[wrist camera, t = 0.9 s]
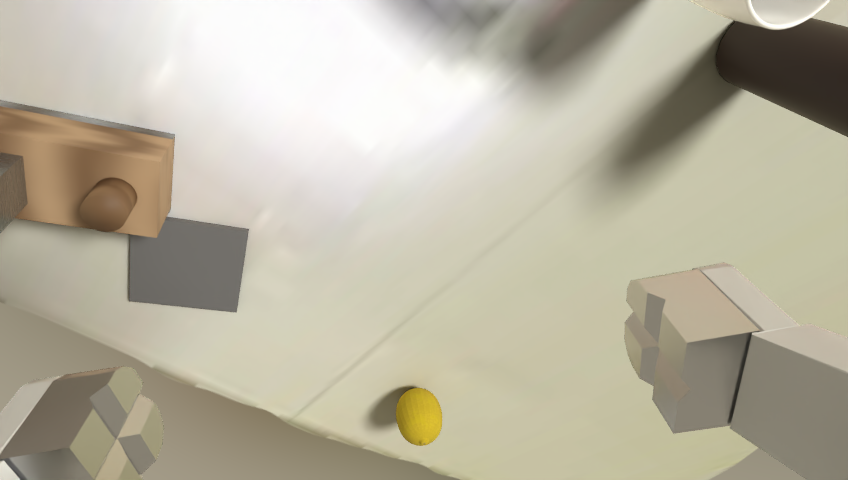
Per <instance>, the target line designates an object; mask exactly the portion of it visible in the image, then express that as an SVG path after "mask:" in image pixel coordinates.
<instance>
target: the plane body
mask: <svg viewBox="0 0 848 480" xmlns="http://www.w3.org/2000/svg"><path fill="white" fill-rule="evenodd" d="M174 140H175V134H170V133H165V132H160V131H155V130H149V129H144V128H139V127H134V126H129V125H124V124H119V123H114V122H109V121H103V120H98V119H93V118H88V117H83V116H78V115H73V114H68V113H63V112H58V111H52V110H47V109H42V108H37V107H32V106H27V105H22V104H17V103H12V102H7V101H1V100H0V152H2V153H8V154H14V155H19V156H23V162H24V171H25V181H26V191H27V201H28V204H27V205H26V206H25V207H24V208H23V209H22V210H21V211H20V212H19V214H18V215H17V216H16V217H15V218H18V219H25V220H32V221H39V222H46V223H54V224H61V225H68V226H75V227H82V228H89V229H96V230H99V231H103V232H118V233H125V234H132V235H139V236H147V237H154V238H157V236H158V234H159V232H160V230H161V228H162V225H163V223H164V221H165V219H166V217H167V215H168V213H169V212H170V210H171V192H172V175H173V157H174Z"/></svg>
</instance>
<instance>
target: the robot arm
mask: <svg viewBox="0 0 848 480" xmlns="http://www.w3.org/2000/svg"><path fill="white" fill-rule="evenodd" d="M626 301H627V303H628V304H629V306H630V307H631V309H632V310H633V311H634V312H633V313H632V314H631V315H630V317H629V318H628V319H627V320H626V322H625V335H624V339H625V344H626V349H627V354H628V356H629V359H630V361H631V364H632V366H633V368H634V370H635V371H636V373H637V375H638V377H639V378H640V379H642V380H644V381H645V382H647V383H649V384H651V385H653V386H654V388H653V398H652V400H653V401H654V403H655V404H656V406H657V408H658V409H659V411H660V413H661V414H662V416H663V417H664V419H665V421H666V422H667V424H668V425H669V427H670V429H671V430H672V432H673V434H674V433H681V432H688V431H695V430H702V429H709V428H716V427H723V426H730V425H731V426H730V429H732V430H733V431H735V432H736V433H738V434H739V435H741V436H742V437H744V438H745V439H747V440H748V441H750V442H751V443H753V444H754V445H756V446H757V447H759V448H760V449H762V450H763V451H765V452H766V453H768V454H769V455H771V456H772V457H774V458H775V459H777V460H778V461H779V462H781V463H782V464H784V465H786V466H787V467H788V468H790V469H791V470H793V471H795V472H796V473H797V474H799V475H800V476H802V477H804V478H805V479H807V480H848V337H846V336H843V335H840V334H838V333H835V332H832V331H829V330H826V329H824V328H821V327H818V326H815V325H813V324H804V325H799V324H797V323H796V322H795V321H794V320H793V319H792V318H791V317H790V316H789V315H787V314H786V313H785V312H784V311H783V310H782V309H781V308H780V307H778V306H777V305H776V304H775V303H774V302H773V301H772V300H771V299H769V298H768V297H767V296H766V295H765V294H764V293H763V292H762V291H761V290H759V289H758V288H757V287H756V286H755V285H754V284H753V283H752V282H750V281H749V280H748V279H747V278H746V277H745V276H744V275H743V274H741V273H740V272H739V271H738V270H737V269H736V268H735V267H734V266H732V265H730V264H727V263H719V264H714V265H709V266H704V267H699V268H693V269H692V270H687V271H682V272H676V273H670V274H665V275H659V276H653V277H647V278H642V279H636V280H631V281H630V283H629V286H628V288H627V298H626ZM142 385H143V382H142V380H141V379H140V377H139V376H138V374H137V373H136V371H135V370H134V368H130V367H125V366H121V367H114V368H107V369H100V370H94V371H87V372H80V373H74V374H66V375H63V376H55V377H49V378H44V379H36V380H33V381H31V382H29V383H26V384H24V385H23V386H21V388H20V389H19V391H18V392H17V393H16V394H15V395H14V397H13V398H12V399H11V400H10V402H9V403H8V404H7V405H6V407H5V408H4V409H3V410H2V412H1V413H0V480H143V477H142V475H141V474H142V473H143V472H144V471H145V470H147V469H148V468H149V467H150V466H151V465H152V464H153V463H154V462H155V461H156V459H157V457H158V454H159V452H160V449H161V446H162V444H163V430H164V425H163V421H162V417H161V413H160V411H159V409H158V407H157V406H156V404H155V402H153V401H152V400H150V399H148V398H146V397H144V396H142V395H140V391H141V388H142Z"/></svg>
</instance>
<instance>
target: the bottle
mask: <svg viewBox="0 0 848 480" xmlns="http://www.w3.org/2000/svg"><path fill="white" fill-rule="evenodd" d="M717 68H718V71H719V74H720V75H721V76H722V77H723V78H724V79H725V80H726V81H727V82H729V83H731V84H733V85H736V86H738V87H740V88H742V89H744V90H747V91H749V92H751V93H753V94H755V95H757V96H760V97H762V98H764V99H766V100H768V101H771V102H773V103H775V104H777V105H779V106H781V107H784V108H786V109H788V110H790V111H792V112H795V113H797V114H799V115H801V116H803V117H805V118H808V119H810V120H812V121H814V122H816V123H818V124H821V125H823V126H825V127H827V128H829V129H832V130H834V131H836V132H838V133H840V134H842V135H845V136H847V137H848V27H845V26H841V25H837V24H833V23H829V22H825V21H821V20H817V19H813V18H809V19H808V20H806V21H804V22H803V23H801V24H799V25H796V26H794V27H791V28H787V29H781V30H771V29H766V28H762V27H757V26H753V25H748V24H745V23H741V22H738V21H735V23H734V24H733V25H732V26H731V27H730V28H729V29H728V30H727V32H726V34H725V35H724V37H723V39H722V40H721V42H720V45H719V48H718V52H717Z"/></svg>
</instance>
